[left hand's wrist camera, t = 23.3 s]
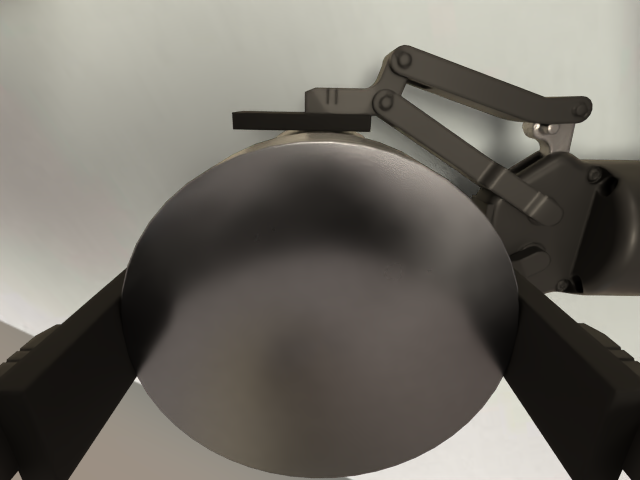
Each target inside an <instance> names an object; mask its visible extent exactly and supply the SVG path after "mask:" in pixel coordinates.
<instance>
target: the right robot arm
mask: <svg viewBox="0 0 640 480" xmlns="http://www.w3.org/2000/svg"><path fill="white" fill-rule="evenodd" d="M406 84H409V85H412V86H414V87H417V88H420V89H422V90H425V91H428V92H431V93H433V94H436V95H439V96H442V97H444V98H447V99H450V100H453V101H455V102H458V103H461V104H463V105H466V106H469V107H472V108H474V109H477V110H480V111H483V112H485V113H488V114H491V115H494V116H496V117H499V118H502V119H506V120H510V121H517V122H524V123H523V125H522V128H523V131H524V134H525V135H526V136H527V137H529V138H533V139H535V140H537V141H538V143H539V145H540V151H537V152H535V153H534V154H532V155H530V156H529V157H527V158H525V159H524V160H522V161H521V162H519V163H517V164H516V165H514V166H513V167H511V168H509V169H506V168H505V167H503V166H501V165H499V164H498V163H496V162H494V161H493V160H491V159H490V158H488V157H487V156H486V155H484V154H483V153H481V152H480V151H478V150H477V149H476V148H474V147H473V146H471V145H470V144H468V143H467V142H466V141H464V140H463V139H461V138H460V137H459V136H457V135H456V134H454V133H453V132H451V131H450V130H449V129H447V128H446V127H444V126H443V125H441V124H440V123H439V122H437V121H436V120H434V119H433V118H431V117H430V116H429V115H427V114H426V113H424V112H423V111H422V110H420V109H419V108H417V107H416V106H414V105H413V104H412V103H410V102H409V101H407V100H406V99H404V98H403V97H402V96H401V94H402V92H403V89H404V87H405V85H406ZM591 111H592V102H591V100H590V99H589V98H588V97H584V96H567V97H543V96H541V95H538V94H535V93H533V92H530V91H527V90H525V89H522V88H520V87H517V86H514V85H512V84H509V83H506V82H504V81H501V80H498V79H496V78H493V77H491V76H488V75H485V74H483V73H480V72H477V71H475V70H472V69H469V68H467V67H464V66H462V65H459V64H456V63H454V62H451V61H448V60H446V59H443V58H440V57H438V56H435V55H433V54H430V53H427V52H425V51H422V50H419V49H417V48H414V47H411V46H408V45H403V46H399V47H398V48H396V49H395V50H393V51H392V52H390V53H389V54H388V55H387V56H385V58H384V60H383V63H382V67H381V70H380V72H379V75H378V77H377V80H376V81H375V83H374V84H373V85H372V86H371V87H369V88H366V89H359V88H314V89H311V90H309V91H306V92H305V112H267V111H240V112H232V118H233V129H243V130H298V131H352V132H370V127H371V116H377V117H379V118H380V119H382V120H383V121H385V122H386V123H388V124H389V125H391V126H392V127H393V128H395V129H396V130H398V131H399V132H401V133H402V134H404V135H405V136H407V137H408V138H410V139H411V140H413V141H414V142H416V143H417V144H418V145H420V146H421V147H423V148H424V149H426V150H427V151H429V152H430V153H432V154H433V155H435V156H436V157H438V158H439V159H441V160H442V161H443V162H445V163H446V164H448V165H449V166H451V167H452V168H454V169H455V170H457V171H458V172H460V173H461V174H462V175H463V176H465V177H466V178H468V179H469V180H471V181H472V182H474V183H475V184H477V185H478V186H480V187H481V188H480V190H479V191H478V193H477V195H472V201H473V202H474V203H475V204H476V205H477V206H478V207H479V208H480V210H481V211H482V212H483V213H484V214H485V215H486V216H487V218H488V219H489V221H490V222H491V224H492V225H493V227H494V228H495V230H496V231H497V233H498V234H499V236H500V237H501V239H502V241H503V244H504V246H505V248H506V250H507V253H508V255H509V257H510V259H511V262H512V266H513V268H514V269H515V270H517V271H518V272H519V273H520V274H521V275H522V276H524V277H525V278H526V279H527V280H528V281H529V282H530V283H532V284H533V285H534V286H535V287H536V288H537V289H539V290H540V291H541V292H542V293H543V294H546V293H549V292H564V293H570V294H578V295H608V296H640V161H639V160H580V159H578V158H576V157H575V156H574V155H572V154H570V153H569V150H570V146H571V141H572V136H573V132H574V127H575V123H580V122H583V121H584V120H586V119H587V118H588V117H589V115H590V114H591Z"/></svg>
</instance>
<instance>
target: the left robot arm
mask: <svg viewBox="0 0 640 480" xmlns="http://www.w3.org/2000/svg"><path fill="white" fill-rule="evenodd" d="M126 270H127V268H126V269H125V270H124V271H123V272H121V273H120V274H119V275H118V276H117V277H116V278H114V279H113V280H112V281H111V282H110V283H109V284H107V285H106V286H105V287H104V288H103V289H102V290H101V291H99V292H98V293H97V294H96V295H95V296H94V297H92V298H91V299H90V300H89V301H88V302H87V303H85V304H84V305H83V306H82V307H81V308H80V309H79V310H77V311H76V312H75V313H74V314H73V315H72V316H70V317H69V318H68V319H67V320H66V321H65V322H63V323H62V324H57V325H55V326H53V327H51V328H49V329H47V330H45V331H44V332H42V333H40V334H38V335H36V336H35V337H34V338H32V339H31V340H30V341H29V342H28V343H26V344H25V345H24V346H23V347H22V348H20V351H17V352H16V353H14V354H13V355H12V356H11V357H9V358H8V359H7V362H6V363H2V364H1V365H0V480H11V479H12V478H13V476H14V475H15V474H16V473H17V472H18V471H19V473H20V476H21V478H22V480H68V479H69V478H70V476H71V475H72V473H73V472H74V470H75V469H76V467H77V466H78V464H79V462H80V461H81V460H82V458H83V456H84V455H85V453H86V452H87V450H88V449H89V447H90V446H91V444H92V443H93V441H94V440H95V438H96V437H97V435H98V434H99V432H100V431H101V429H102V428H103V426H104V425H105V423H106V422H107V420H108V419H109V417H110V416H111V414H112V413H113V411H114V410H115V408H116V407H117V405H118V404H119V402H120V401H121V399H122V398H123V396H124V395H125V393H126V392H127V390H128V389H129V387H130V386H131V384H132V383H133V381H134V380H135V378H136V377H137V375H136V373H135V370H134V368H133V366H132V363H131V361H130V358H129V356H128V352H127V348H126V343H125V339H124V335H123V330H122V320H121V301H122V288H123V284H124V279H125V274H126ZM513 270H514V273H515V277H516V281H517V286H518V296H519V307H520V308H519V325H518V332H517V337H516V341H515V345H514V350H513V354H512V356H511V359H510V362H509V364H508V367H507V369H506V372H505V374H504V375H503V376H504V378H505V379H506V381H507V382H508V384H509V385H510V387H511V389H512V390H513V392H514V393H515V395H516V396H517V398H518V399H519V401H520V402H521V404H522V405H523V407H524V408H525V410H526V411H527V413H528V414H529V416H530V417H531V419H532V420H533V422H534V423H535V425H536V426H537V428H538V429H539V431H540V432H541V434H542V435H543V437H544V438H545V440H546V441H547V443H548V444H549V446H550V447H551V449H552V450H553V452H554V453H555V455H556V456H557V458H558V459H559V461H560V462H561V464H562V465H563V467H564V468H565V470H566V471H567V473H568V474H569V476H570V477H571V479H572V480H618V479H619V476H620V474H621V472H622V469H623V470H624V472H625V473H626V474H627V475H628V476H629V478H630V479H631V480H640V363H639V362H638V361H634V358H633V357H632V356H631V355H629V354H628V353H627V352H626V351H625V350H621V347H620V346H618V345H617V344H616V343H615V342H614V341H612V340H611V339H610V338H609V337H607V336H606V335H605V334H603V333H601V332H599V331H598V330H596V329H594V328H592V327H590V326H588V325H586V324H584V323H577V322H576V321H574V320H573V319H572V318H571V317H570V316H569V315H568V314H566V313H565V312H564V311H563V310H562V309H561V308H559V307H558V306H557V305H556V304H555V303H554V302H552V301H551V300H550V299H549V298H548V297H547V296H546V295H544V294H543V293H542V292H541V291H540V290H539V289H537V288H536V287H535V286H534V285H533V284H532V283H530V282H529V281H528V280H527V279H526V278H525V277H524V276H522V275H521V274H520V273H519V272H518V271H517V270H515V269H514V268H513Z"/></svg>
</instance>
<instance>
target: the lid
mask: <svg viewBox="0 0 640 480" xmlns="http://www.w3.org/2000/svg"><path fill="white" fill-rule="evenodd" d="M519 308H520V307H519V296H518V286H517V281H516V277H515V273H514V270H513V266H512V262H511V259H510V257H509V255H508V253H507V250H506V248H505V246H504V244H503V241H502V239H501V237H500V236H499V234H498V233H497V231H496V230H495V228H494V227H493V225H492V224H491V222H490V221H489V219H488V218H487V216H486V215H485V214H484V213H483V212H482V211H481V210H480V208H479V207H478V206H477V205H476V204H475V203H474V202H473V201H472V200H471V199H470V197H469V196H467V195H466V194H465V193H464V192H462V191H461V190H460V189H459V188H458V187H456V186H455V185H454V184H453V183H451V182H450V181H449V180H448V179H446V178H445V177H443V176H441V175H440V174H438V173H437V172H435V171H433V170H432V169H430V168H428V167H427V166H425V165H424V164H422V163H420V162H419V161H417V160H415V159H413V158H412V157H410V156H408V155H407V154H405V153H403V152H402V151H399V150H397V149H395V148H392V147H390V146H387V145H385V144H383V143H380V142H377V141H373V140H370V139H366V138H362V137H358V136H354V135H345V134H337V133H301V134H295V135H288V136H282V137H277V138H274V139H271V140H267V141H264V142H261V143H257V144H255V145H252V146H250V147H248V148H246V149H244V150H241V151H239V152H237V153H235V154H233V155H231V156H230V157H228V158H226V159H225V160H223V161H221V162H220V163H218V164H217V165H215V166H213V167H212V168H210V169H208V170H207V171H205V172H204V173H202V174H201V175H199V176H198V177H196V178H195V179H193V180H191V181H190V182H188V183H187V184H186V185H185V186H184V187H182V188H181V189H180V190H179V191H178V192H177V193H176V194H174V195H173V196H172V197H171V198H170V199H169V200H168V201H166V203H165V204H164V205H163V206H162V207H161V209H160V210H159V211H158V212H157V213H156V215H155V216H154V217H153V218H152V219H151V221H150V222H149V223H148V225H147V227H146V228H145V230H144V232H143V233H142V235H141V237H140V238H139V240H138V242H137V243H136V246H135V248H134V251H133V253H132V256H131V258H130V261H129V263H128V266H127V270H126V274H125V279H124V284H123V288H122V301H121V320H122V330H123V335H124V339H125V343H126V348H127V352H128V356H129V358H130V361H131V363H132V366H133V368H134V370H135V373H136V375H137V377H138V379H139V380H140V382H141V384H142V385H143V387H144V389H145V390H146V392H147V394H148V395H149V396H150V398H151V399H152V400H153V402H154V403H155V404H156V405H157V407H158V408H159V409H160V410H161V412H162V413H163V414H164V415H165V416H166V417H167V418H168V419H170V421H171V422H172V423H173V424H174V425H175V426H177V427H178V428H179V429H180V430H182V431H183V432H184V433H185V434H187V435H188V436H189V437H190V438H192V439H193V440H195V441H196V442H198V443H200V444H201V445H203V446H204V447H206V448H207V449H209V450H211V451H213V452H215V453H217V454H219V455H221V456H223V457H225V458H227V459H229V460H232V461H234V462H237V463H240V464H242V465H245V466H248V467H251V468H254V469H258V470H262V471H265V472H269V473H274V474H280V475H286V476H293V477H305V478H337V477H347V476H356V475H361V474H366V473H371V472H376V471H379V470H383V469H386V468H389V467H393V466H396V465H399V464H401V463H404V462H406V461H409V460H411V459H414V458H416V457H418V456H420V455H422V454H424V453H426V452H427V451H429V450H431V449H433V448H435V447H436V446H438V445H439V444H441V443H442V442H444V441H445V440H447V439H448V438H450V437H451V436H453V435H454V434H455V433H456V432H458V431H459V430H460V429H461V428H462V427H464V426H465V425H466V424H467V423H468V422H469V421H470V420H471V419H472V418H473V417H474V416H475V415H476V414H477V413H478V412H479V411H480V410H481V409H482V408H483V406H484V405H485V404H486V402H487V401H488V400H489V398H490V397H491V395H492V394H493V393H494V391H495V390H496V388H497V386H498V385H499V383H500V381H501V379H502V377H503V375H504V374H505V372H506V369H507V367H508V364H509V362H510V359H511V356H512V354H513V350H514V345H515V341H516V337H517V332H518V325H519Z"/></svg>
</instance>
